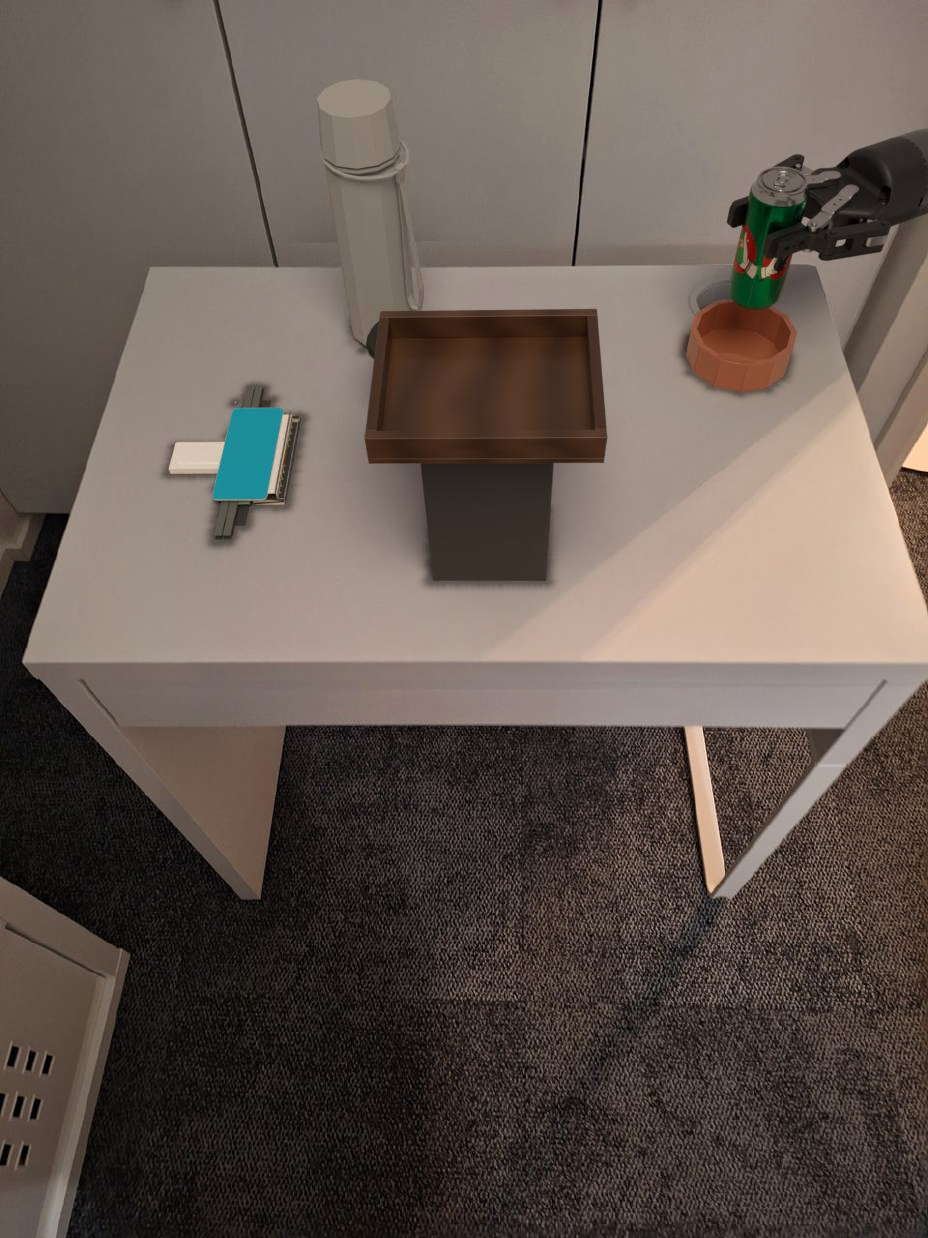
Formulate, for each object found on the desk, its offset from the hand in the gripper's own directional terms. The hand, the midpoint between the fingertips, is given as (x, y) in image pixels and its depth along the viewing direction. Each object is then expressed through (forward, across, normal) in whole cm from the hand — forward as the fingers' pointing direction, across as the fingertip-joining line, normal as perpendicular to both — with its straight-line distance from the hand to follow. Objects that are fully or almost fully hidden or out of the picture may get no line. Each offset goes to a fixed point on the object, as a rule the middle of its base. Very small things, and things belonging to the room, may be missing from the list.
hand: (748, 231), depth 82 cm
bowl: (-3, 0, +16) cm, 16 cm away
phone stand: (+49, -11, +15) cm, 53 cm away
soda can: (-3, 0, +8) cm, 9 cm away
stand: (+31, +10, +16) cm, 37 cm away
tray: (+31, +11, -2) cm, 33 cm away
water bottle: (+28, -21, +15) cm, 38 cm away
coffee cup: (+30, -9, +15) cm, 35 cm away
